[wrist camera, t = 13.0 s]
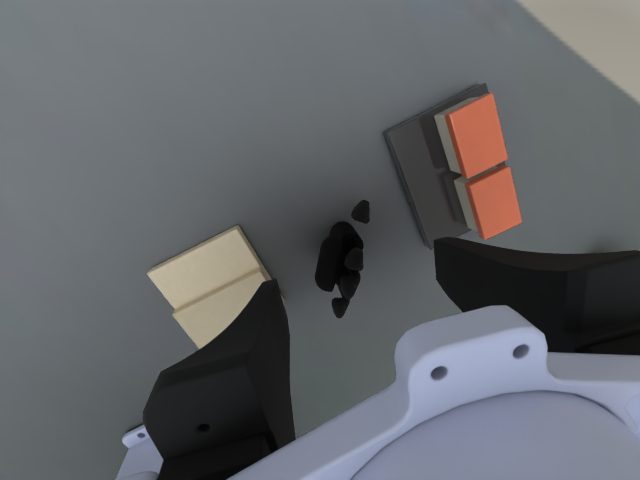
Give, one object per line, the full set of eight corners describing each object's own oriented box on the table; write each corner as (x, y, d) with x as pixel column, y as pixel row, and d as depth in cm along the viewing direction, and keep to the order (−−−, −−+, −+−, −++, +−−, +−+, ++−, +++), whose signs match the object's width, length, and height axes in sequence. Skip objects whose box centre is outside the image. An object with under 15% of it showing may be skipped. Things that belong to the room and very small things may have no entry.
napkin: (205, 338, 22) (201, 352, 21) (150, 268, 20) (142, 278, 19) (284, 299, 22) (285, 311, 21) (238, 224, 20) (235, 231, 18)
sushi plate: (424, 245, 22) (445, 263, 19) (382, 132, 19) (400, 134, 16) (507, 205, 22) (539, 217, 19) (478, 83, 19) (511, 78, 16)
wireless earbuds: (338, 291, 22) (355, 337, 17) (301, 287, 22) (309, 334, 17) (361, 190, 20) (388, 213, 15) (321, 183, 19) (336, 205, 15)
